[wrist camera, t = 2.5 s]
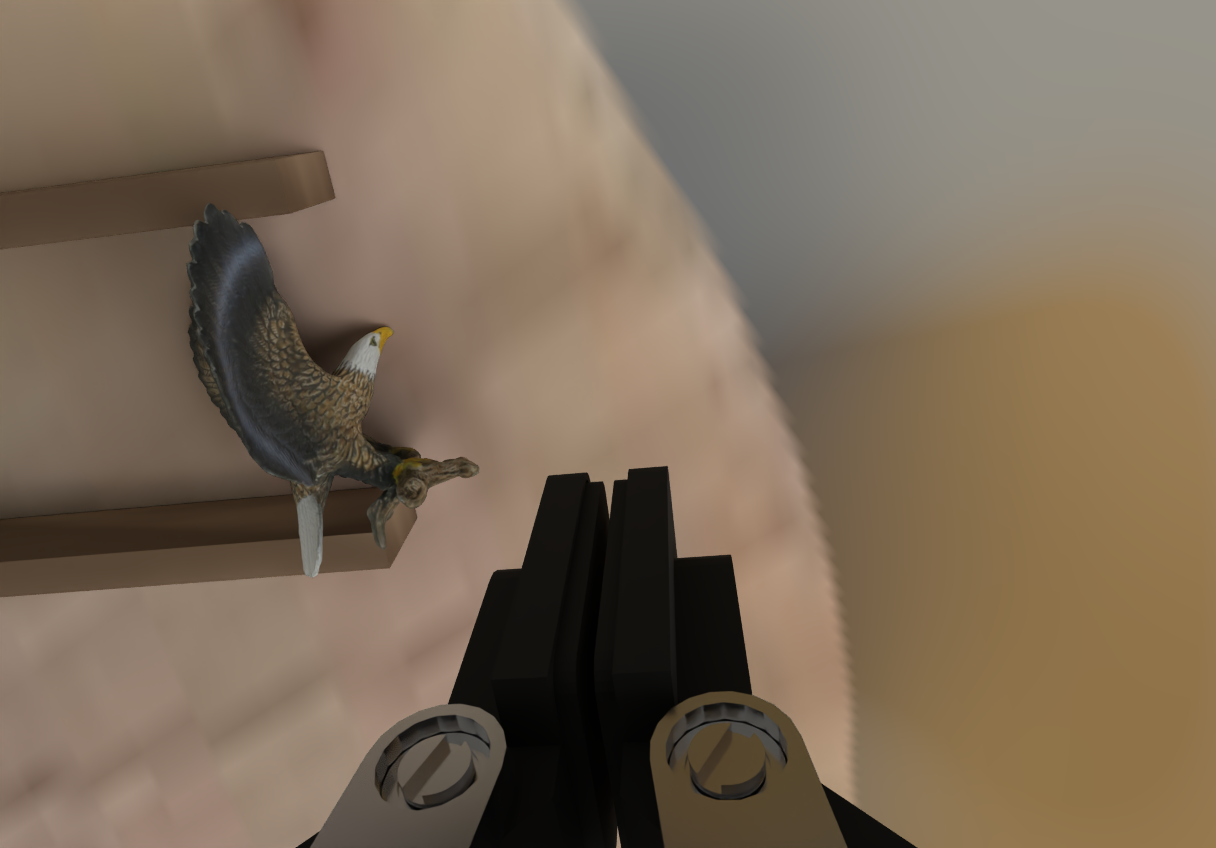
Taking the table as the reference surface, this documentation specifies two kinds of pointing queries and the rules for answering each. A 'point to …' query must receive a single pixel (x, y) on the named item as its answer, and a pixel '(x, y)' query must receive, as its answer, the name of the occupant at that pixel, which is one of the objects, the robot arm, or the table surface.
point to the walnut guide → (195, 532)
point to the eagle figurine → (293, 388)
